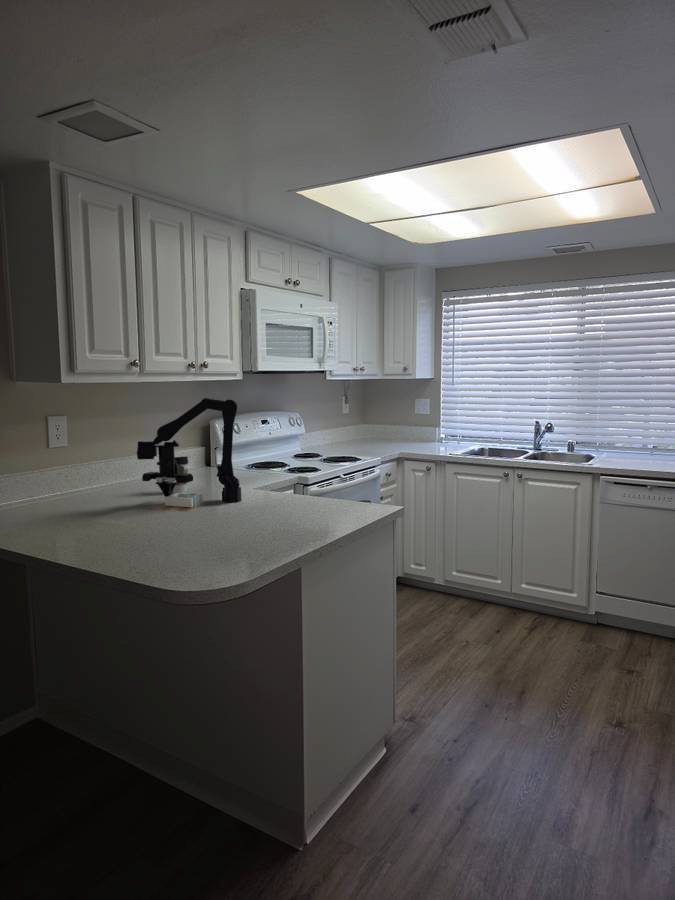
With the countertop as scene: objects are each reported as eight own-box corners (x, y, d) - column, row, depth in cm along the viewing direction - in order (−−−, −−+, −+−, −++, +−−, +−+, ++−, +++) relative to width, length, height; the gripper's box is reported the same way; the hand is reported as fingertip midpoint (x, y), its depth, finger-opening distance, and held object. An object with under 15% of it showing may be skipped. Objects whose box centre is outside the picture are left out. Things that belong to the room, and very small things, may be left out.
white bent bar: (203, 502, 232) (203, 494, 232) (191, 507, 224) (191, 498, 224) (178, 501, 235) (177, 492, 235) (165, 505, 228) (165, 497, 227)
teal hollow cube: (200, 504, 230) (200, 493, 230) (194, 506, 226) (194, 496, 226) (190, 503, 231) (190, 493, 231) (184, 506, 227) (184, 495, 227)
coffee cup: (186, 494, 255) (185, 458, 253) (166, 494, 255) (164, 458, 253) (191, 490, 263) (190, 455, 261) (172, 490, 263) (170, 455, 262)
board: (207, 506, 232) (207, 503, 232) (187, 514, 219) (187, 511, 219) (165, 503, 238) (165, 500, 238) (143, 511, 224) (143, 508, 224)
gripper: (200, 456, 235) (201, 497, 237) (157, 455, 240) (159, 494, 242) (184, 460, 224) (185, 503, 226) (140, 459, 230) (142, 500, 232)
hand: (168, 500), depth 232 cm, fingers closed
